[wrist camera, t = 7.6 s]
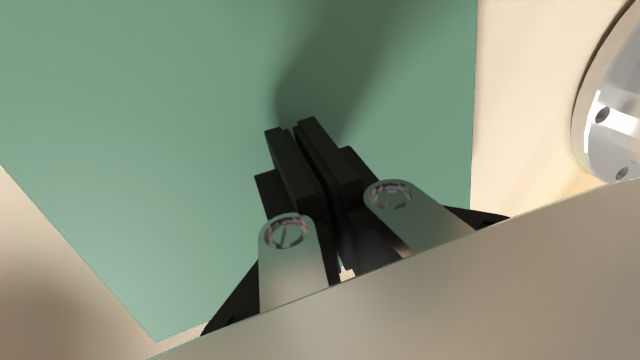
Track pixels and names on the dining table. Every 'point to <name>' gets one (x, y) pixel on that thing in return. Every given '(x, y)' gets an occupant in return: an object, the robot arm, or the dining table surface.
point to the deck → (218, 123)
